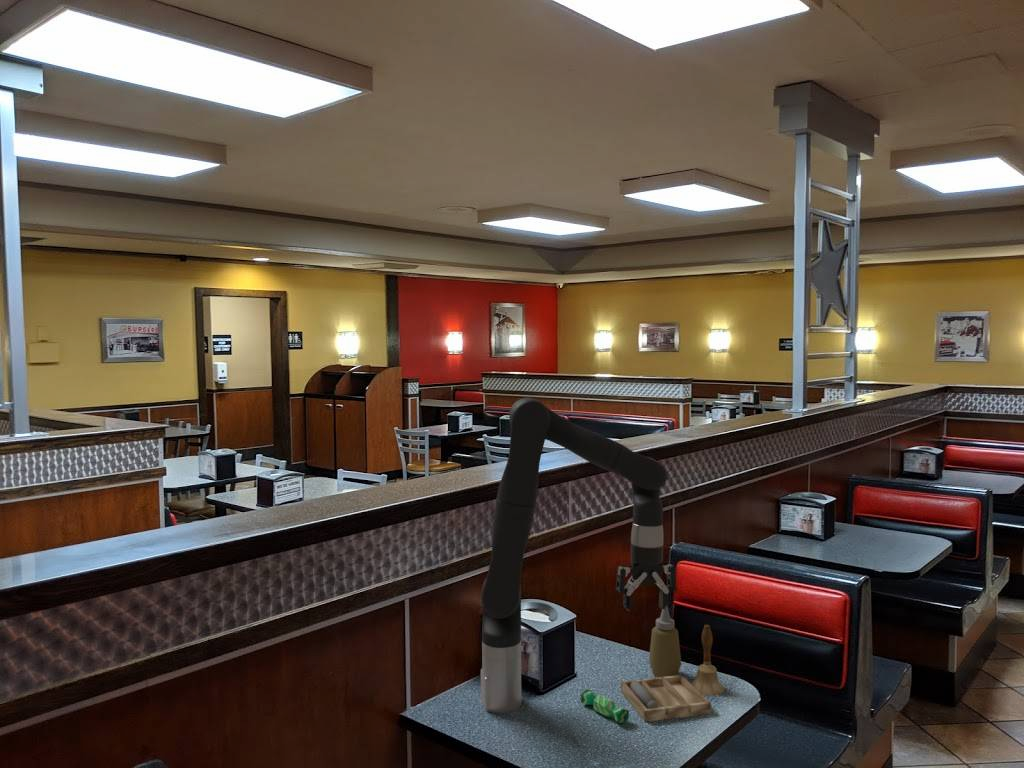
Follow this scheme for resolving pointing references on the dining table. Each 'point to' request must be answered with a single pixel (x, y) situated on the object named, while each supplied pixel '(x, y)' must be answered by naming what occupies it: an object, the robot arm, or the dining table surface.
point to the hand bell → (707, 669)
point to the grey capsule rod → (643, 695)
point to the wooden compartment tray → (667, 698)
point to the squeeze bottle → (665, 647)
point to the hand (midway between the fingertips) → (645, 609)
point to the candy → (605, 706)
